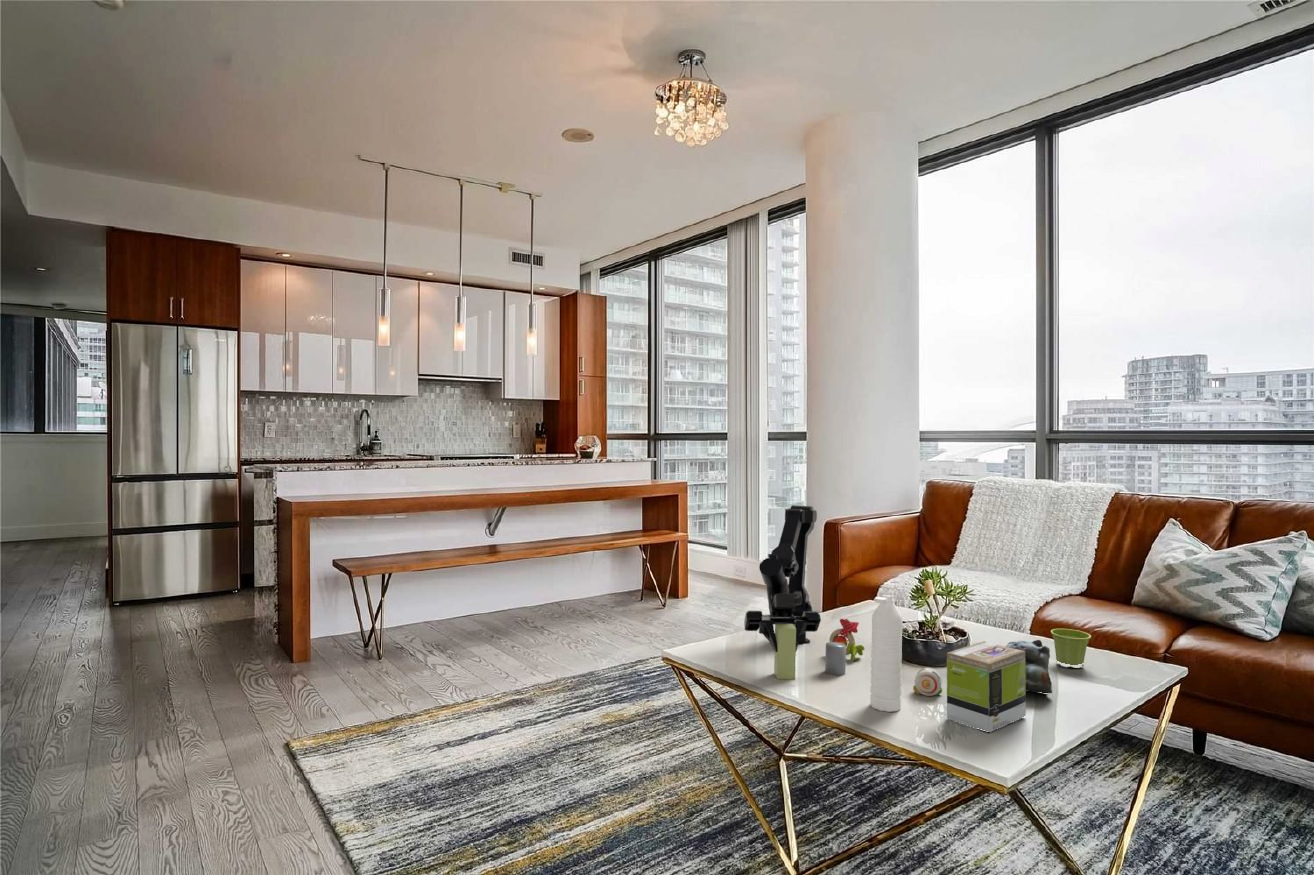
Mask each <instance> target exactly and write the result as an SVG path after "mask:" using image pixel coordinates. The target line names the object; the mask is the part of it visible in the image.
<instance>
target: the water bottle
mask: <svg viewBox="0 0 1314 875" xmlns="http://www.w3.org/2000/svg"><path fill="white" fill-rule="evenodd" d="M881 596H882V597H881ZM881 596H876V597H875V598H874V603H876V604H879V605H878V606H877V607H876V608H875V610H874V611H873V613H872V617H871V654H870V657H871V662H870V667H871V669H870V696H869V697H870V698H869V700H870V701H869V702H870V703H869V704H870V706H871V707H872V709H875V710H878V711H880V712H886V713H887V712H888V713H892V712H893V713H894V712H899V711H900V710H901V706H902V698H901V696H902V688H901V687H902V667H903V666H902V661H903V660H902V659H903V653H902V652H903V651H902V650H903V649H902V648H903V647H902V646H903V644H902V643H903V637H902V636H903V623H904V622H903V614H901V611H900V610H899V609H898V607H897V606H896V604H895V603H894V600H895V599H894V596H893V595H891V594H882V595H881Z"/></svg>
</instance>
